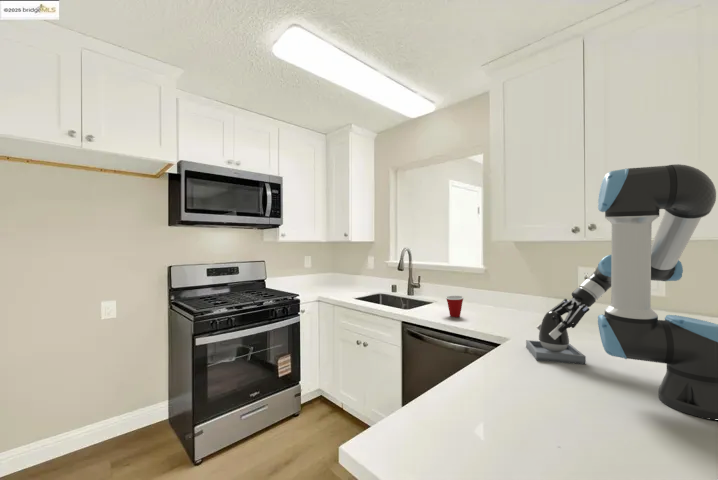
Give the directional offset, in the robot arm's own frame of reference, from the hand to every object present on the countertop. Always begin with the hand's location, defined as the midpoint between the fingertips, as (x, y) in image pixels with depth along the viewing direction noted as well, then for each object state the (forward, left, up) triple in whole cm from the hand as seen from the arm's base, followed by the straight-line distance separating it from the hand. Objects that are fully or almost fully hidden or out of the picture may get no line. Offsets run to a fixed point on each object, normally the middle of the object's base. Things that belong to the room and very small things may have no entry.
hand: (545, 333), depth 125 cm
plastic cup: (+63, +33, -9) cm, 71 cm away
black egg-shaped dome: (0, -3, -7) cm, 7 cm away
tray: (+1, -3, -8) cm, 9 cm away
